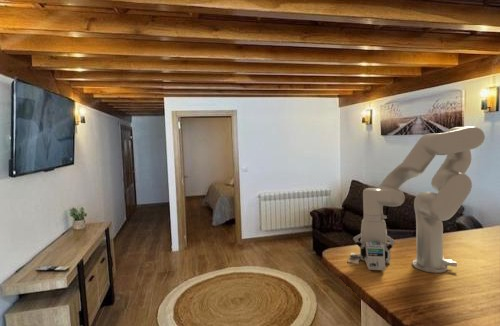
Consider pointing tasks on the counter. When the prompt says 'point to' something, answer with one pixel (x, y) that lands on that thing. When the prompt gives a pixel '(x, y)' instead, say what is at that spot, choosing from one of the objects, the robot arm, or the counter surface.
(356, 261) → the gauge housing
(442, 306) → the counter surface
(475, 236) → the counter surface
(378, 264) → the light bulb box
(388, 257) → the plate
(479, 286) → the counter surface
